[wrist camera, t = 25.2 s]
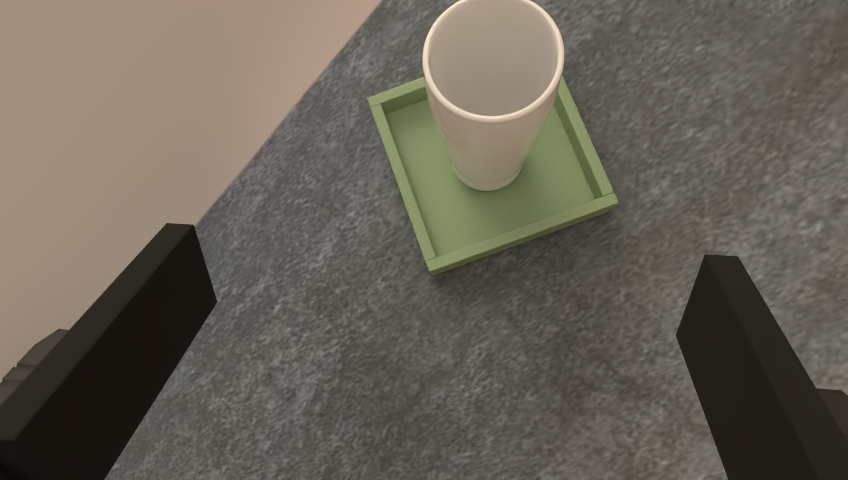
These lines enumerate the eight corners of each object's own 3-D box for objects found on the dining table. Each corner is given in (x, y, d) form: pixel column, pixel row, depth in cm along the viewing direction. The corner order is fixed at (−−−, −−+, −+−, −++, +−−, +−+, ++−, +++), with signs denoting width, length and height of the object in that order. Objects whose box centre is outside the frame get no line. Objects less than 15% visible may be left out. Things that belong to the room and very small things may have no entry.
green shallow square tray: (373, 112, 42) (366, 97, 40) (538, 50, 42) (543, 31, 39) (432, 276, 39) (429, 272, 37) (609, 211, 39) (619, 202, 36)
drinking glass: (552, 148, 40) (596, 36, 25) (496, 221, 39) (508, 151, 24) (477, 98, 41) (477, -37, 26) (422, 168, 40) (391, 71, 26)
